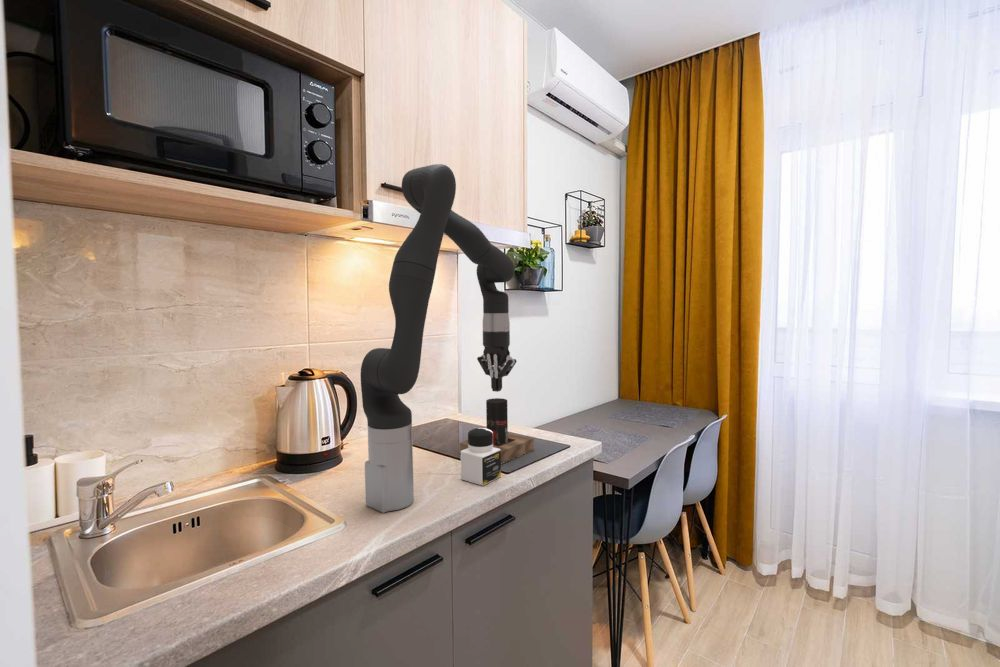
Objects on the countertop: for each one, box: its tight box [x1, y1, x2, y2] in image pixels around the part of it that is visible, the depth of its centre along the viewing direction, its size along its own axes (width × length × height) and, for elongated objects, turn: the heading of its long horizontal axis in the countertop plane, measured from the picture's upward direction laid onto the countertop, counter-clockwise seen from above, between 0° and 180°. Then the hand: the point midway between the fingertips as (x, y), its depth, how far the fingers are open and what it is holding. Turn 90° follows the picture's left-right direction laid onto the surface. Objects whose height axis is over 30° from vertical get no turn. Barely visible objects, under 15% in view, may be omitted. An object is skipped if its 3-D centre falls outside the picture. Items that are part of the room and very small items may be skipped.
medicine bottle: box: [460, 427, 502, 486], centre depth 114 cm, size 7×7×12 cm
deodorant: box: [485, 397, 509, 446], centre depth 133 cm, size 6×6×15 cm
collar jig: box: [459, 432, 535, 463], centre depth 133 cm, size 16×14×4 cm
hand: (496, 390), depth 132 cm, fingers closed
